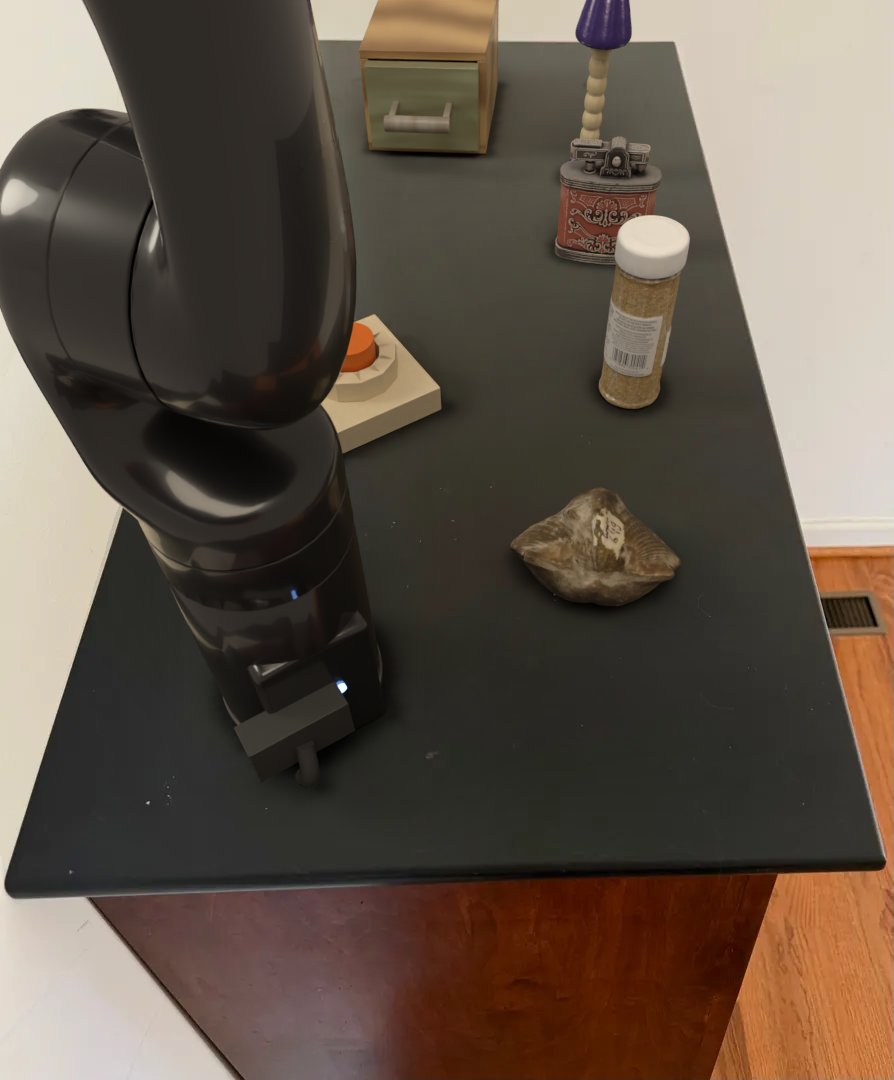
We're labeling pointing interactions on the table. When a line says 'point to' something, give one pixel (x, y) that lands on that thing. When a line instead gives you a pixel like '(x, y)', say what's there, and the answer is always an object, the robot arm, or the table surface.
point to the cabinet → (437, 45)
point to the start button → (360, 349)
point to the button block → (381, 392)
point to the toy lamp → (600, 53)
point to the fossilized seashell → (596, 552)
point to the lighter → (602, 196)
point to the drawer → (423, 104)
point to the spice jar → (642, 308)
